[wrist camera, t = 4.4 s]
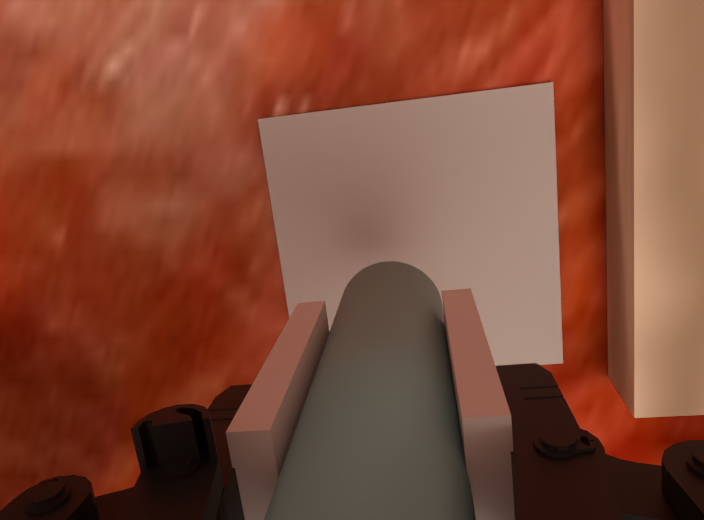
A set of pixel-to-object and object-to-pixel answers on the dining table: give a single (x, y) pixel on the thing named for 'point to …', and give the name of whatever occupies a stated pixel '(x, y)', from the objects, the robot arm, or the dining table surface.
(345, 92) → the dining table surface
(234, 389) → the robot arm
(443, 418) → the peg
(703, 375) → the hole block
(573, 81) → the dining table surface
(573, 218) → the dining table surface
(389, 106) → the mat
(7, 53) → the dining table surface
